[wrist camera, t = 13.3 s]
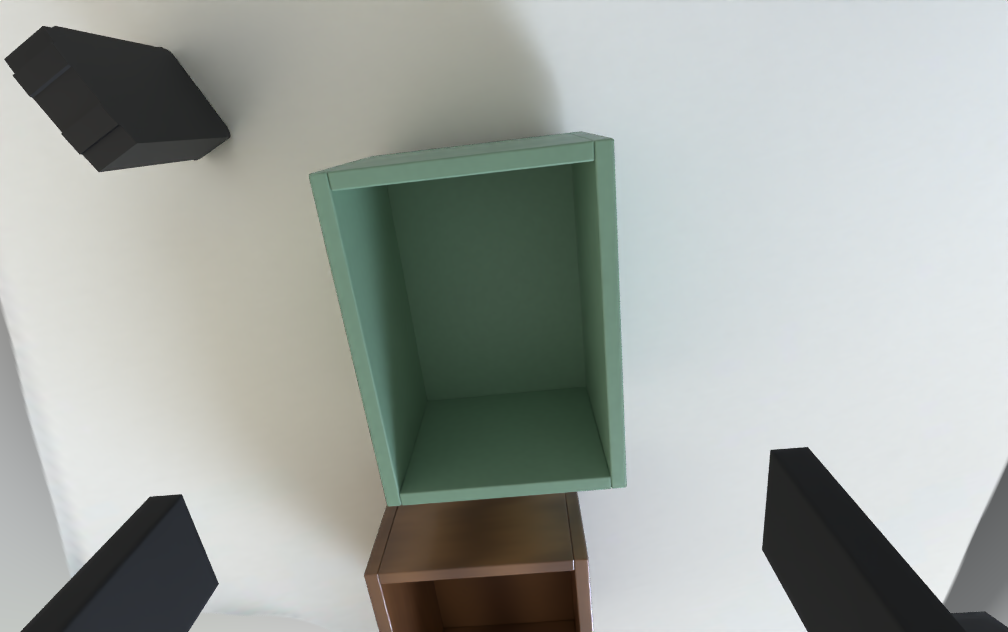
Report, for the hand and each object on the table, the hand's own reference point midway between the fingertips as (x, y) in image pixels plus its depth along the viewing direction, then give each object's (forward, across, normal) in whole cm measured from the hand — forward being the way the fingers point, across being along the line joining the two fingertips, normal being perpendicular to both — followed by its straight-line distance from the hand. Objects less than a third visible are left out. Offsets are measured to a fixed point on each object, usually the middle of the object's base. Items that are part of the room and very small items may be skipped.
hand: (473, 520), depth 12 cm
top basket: (+20, 0, 0) cm, 20 cm away
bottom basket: (+20, -2, -19) cm, 28 cm away
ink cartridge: (+20, -15, +11) cm, 27 cm away
